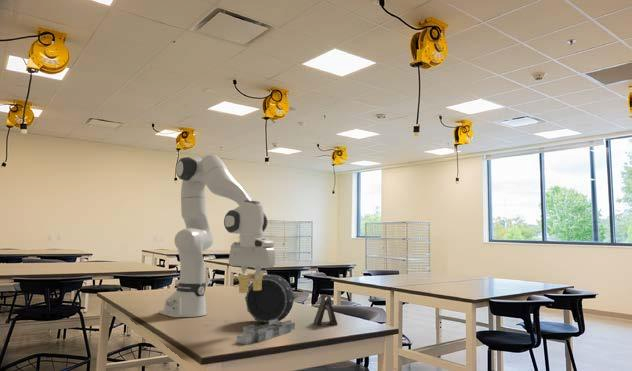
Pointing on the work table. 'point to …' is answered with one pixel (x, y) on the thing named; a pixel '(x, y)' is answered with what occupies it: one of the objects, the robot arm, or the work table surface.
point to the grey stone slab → (264, 331)
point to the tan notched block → (244, 282)
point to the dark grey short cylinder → (270, 299)
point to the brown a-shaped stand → (322, 308)
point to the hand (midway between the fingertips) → (250, 278)
